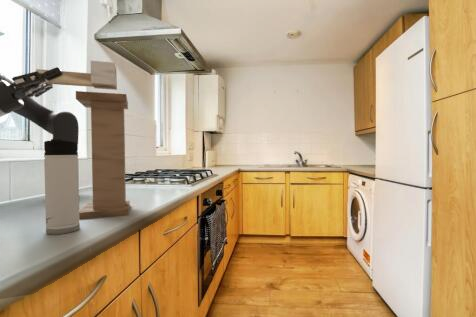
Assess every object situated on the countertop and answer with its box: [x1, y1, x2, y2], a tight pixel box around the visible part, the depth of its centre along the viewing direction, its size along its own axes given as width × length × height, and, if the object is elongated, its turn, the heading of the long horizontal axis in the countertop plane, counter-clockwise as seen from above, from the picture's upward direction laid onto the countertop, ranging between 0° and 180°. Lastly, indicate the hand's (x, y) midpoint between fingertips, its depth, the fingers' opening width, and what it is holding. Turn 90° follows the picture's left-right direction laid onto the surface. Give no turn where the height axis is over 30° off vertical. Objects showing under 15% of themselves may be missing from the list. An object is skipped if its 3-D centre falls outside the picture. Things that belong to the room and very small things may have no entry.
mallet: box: [35, 60, 118, 91], centre depth 76 cm, size 7×19×6 cm, turn 110°
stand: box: [75, 90, 131, 220], centre depth 79 cm, size 14×12×33 cm
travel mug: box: [43, 138, 81, 236], centre depth 60 cm, size 6×7×20 cm
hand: (61, 72), depth 75 cm, fingers closed on mallet, 3 cm apart
